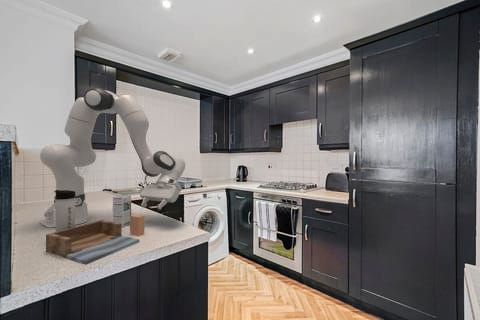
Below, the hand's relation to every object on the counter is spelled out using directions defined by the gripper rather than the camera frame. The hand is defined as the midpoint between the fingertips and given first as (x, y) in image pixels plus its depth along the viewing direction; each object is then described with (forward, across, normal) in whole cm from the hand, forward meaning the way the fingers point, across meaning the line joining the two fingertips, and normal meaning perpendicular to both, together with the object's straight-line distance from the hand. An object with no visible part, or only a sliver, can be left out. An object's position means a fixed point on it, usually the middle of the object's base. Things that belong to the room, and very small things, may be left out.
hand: (150, 207), depth 101 cm
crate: (+24, -3, -9) cm, 26 cm away
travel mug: (+24, -20, -10) cm, 33 cm away
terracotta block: (+12, 0, +2) cm, 12 cm away
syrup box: (+8, -17, +6) cm, 20 cm away
